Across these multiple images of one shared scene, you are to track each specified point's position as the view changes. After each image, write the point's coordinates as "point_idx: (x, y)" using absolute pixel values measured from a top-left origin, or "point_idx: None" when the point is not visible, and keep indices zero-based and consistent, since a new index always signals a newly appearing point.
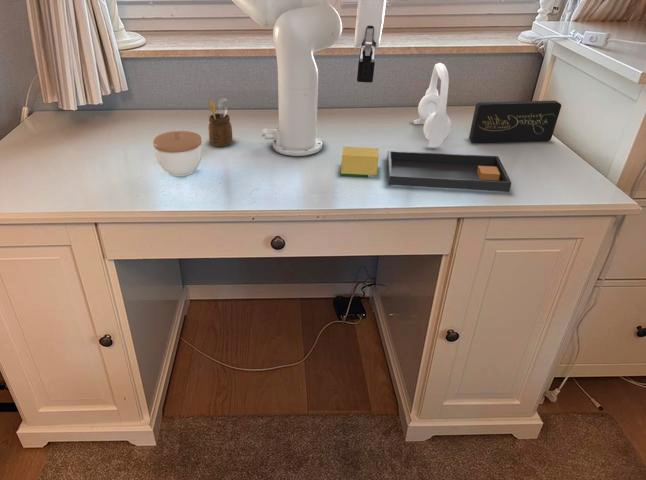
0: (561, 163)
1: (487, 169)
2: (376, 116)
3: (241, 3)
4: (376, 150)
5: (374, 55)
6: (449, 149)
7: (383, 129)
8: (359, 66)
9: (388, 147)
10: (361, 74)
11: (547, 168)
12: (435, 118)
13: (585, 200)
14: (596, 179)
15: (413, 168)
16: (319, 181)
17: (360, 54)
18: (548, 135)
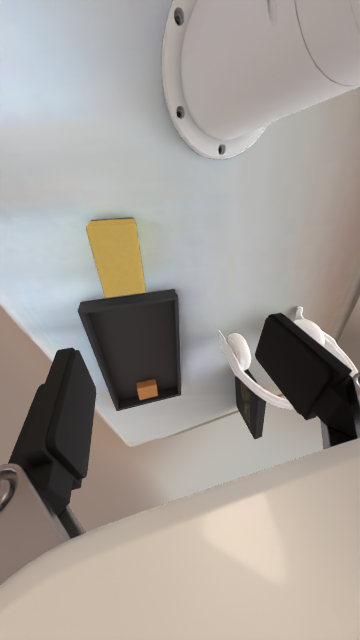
0: (193, 416)
1: (148, 391)
2: (340, 254)
3: None
4: (135, 290)
5: (289, 398)
6: (218, 348)
7: (289, 270)
8: (36, 421)
9: (223, 285)
10: (35, 397)
11: (181, 411)
12: (235, 360)
13: (125, 433)
14: (166, 432)
15: (148, 325)
16: (43, 172)
17: (311, 358)
18: (239, 409)
